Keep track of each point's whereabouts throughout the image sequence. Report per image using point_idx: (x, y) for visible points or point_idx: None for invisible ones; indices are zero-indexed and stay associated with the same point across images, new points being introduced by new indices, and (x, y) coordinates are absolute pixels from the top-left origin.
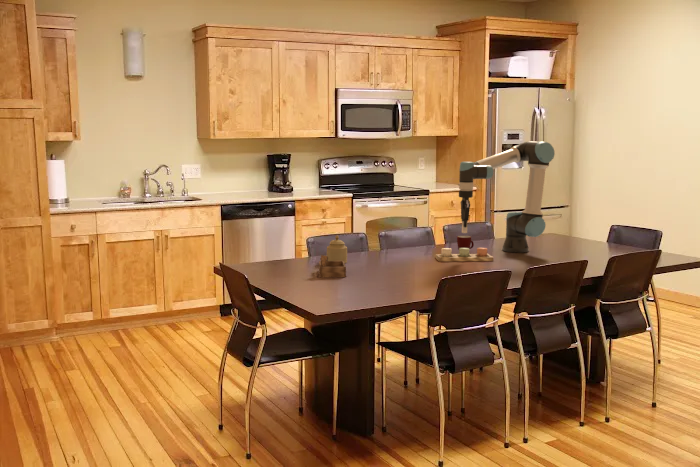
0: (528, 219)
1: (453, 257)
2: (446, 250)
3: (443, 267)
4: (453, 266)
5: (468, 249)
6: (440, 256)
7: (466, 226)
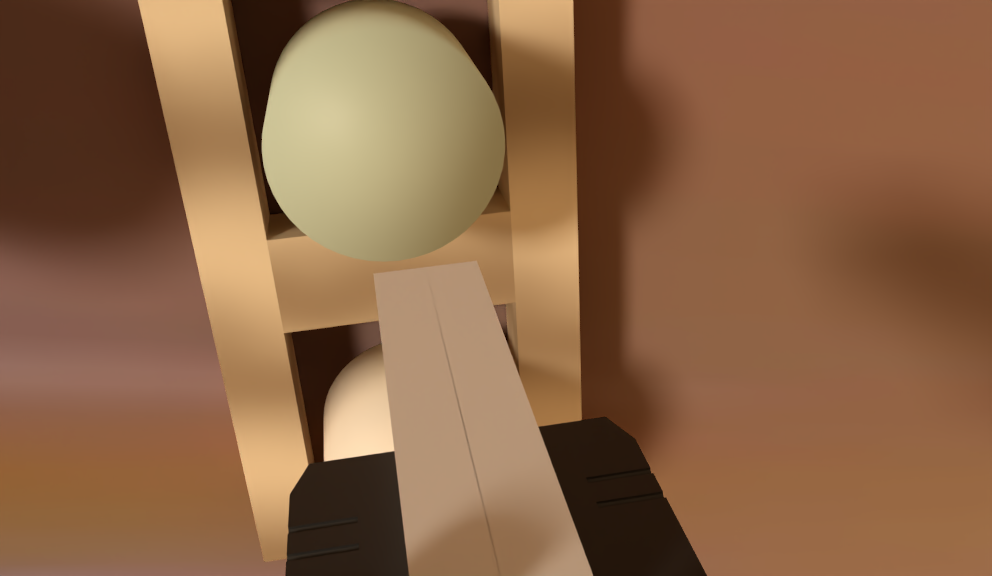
0: None
1: (558, 312)
2: None
3: (979, 430)
4: (947, 309)
5: (469, 63)
6: None
7: (627, 442)
